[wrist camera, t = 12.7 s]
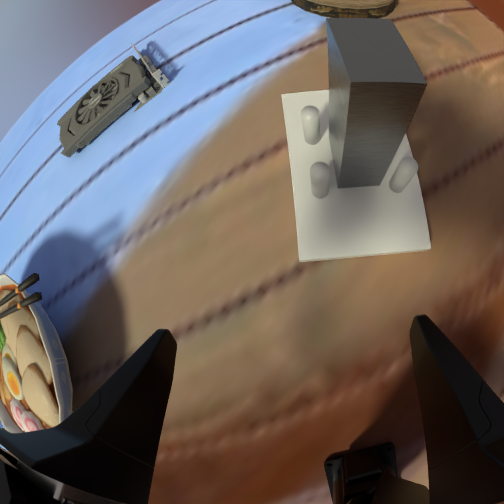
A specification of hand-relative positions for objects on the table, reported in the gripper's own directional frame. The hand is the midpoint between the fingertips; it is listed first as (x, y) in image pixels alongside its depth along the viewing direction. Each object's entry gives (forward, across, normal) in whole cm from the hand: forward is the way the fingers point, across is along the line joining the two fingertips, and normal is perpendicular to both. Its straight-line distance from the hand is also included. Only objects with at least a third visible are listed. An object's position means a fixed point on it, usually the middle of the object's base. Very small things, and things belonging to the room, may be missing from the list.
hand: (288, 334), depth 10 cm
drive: (+17, -5, 0) cm, 18 cm away
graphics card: (+30, +23, -10) cm, 39 cm away
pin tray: (+18, -5, +1) cm, 19 cm away
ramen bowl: (+5, +32, +15) cm, 36 cm away
